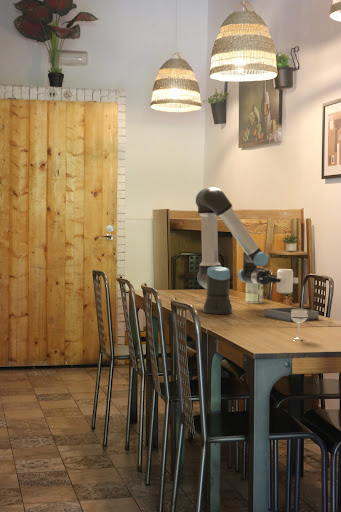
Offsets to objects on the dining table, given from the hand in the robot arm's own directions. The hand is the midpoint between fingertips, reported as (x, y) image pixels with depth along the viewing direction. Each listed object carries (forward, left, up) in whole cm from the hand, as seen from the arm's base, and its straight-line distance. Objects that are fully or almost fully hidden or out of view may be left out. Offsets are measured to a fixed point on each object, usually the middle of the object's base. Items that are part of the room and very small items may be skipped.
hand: (291, 280), depth 361 cm
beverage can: (-1, +5, -7) cm, 8 cm away
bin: (-5, -6, -18) cm, 20 cm away
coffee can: (+21, +58, -18) cm, 64 cm away
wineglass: (-46, -59, -18) cm, 77 cm away
